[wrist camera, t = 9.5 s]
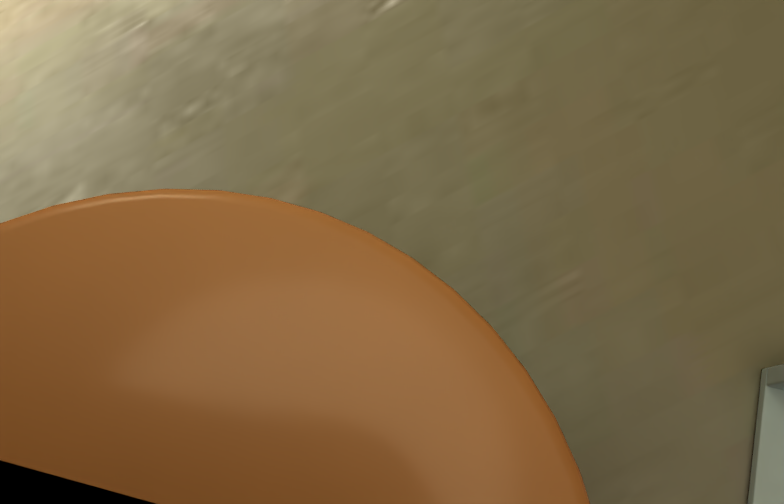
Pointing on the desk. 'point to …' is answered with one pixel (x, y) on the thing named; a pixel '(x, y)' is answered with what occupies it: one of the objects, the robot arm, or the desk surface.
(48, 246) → the brush
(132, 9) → the desk surface
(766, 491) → the dustpan
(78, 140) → the desk surface
